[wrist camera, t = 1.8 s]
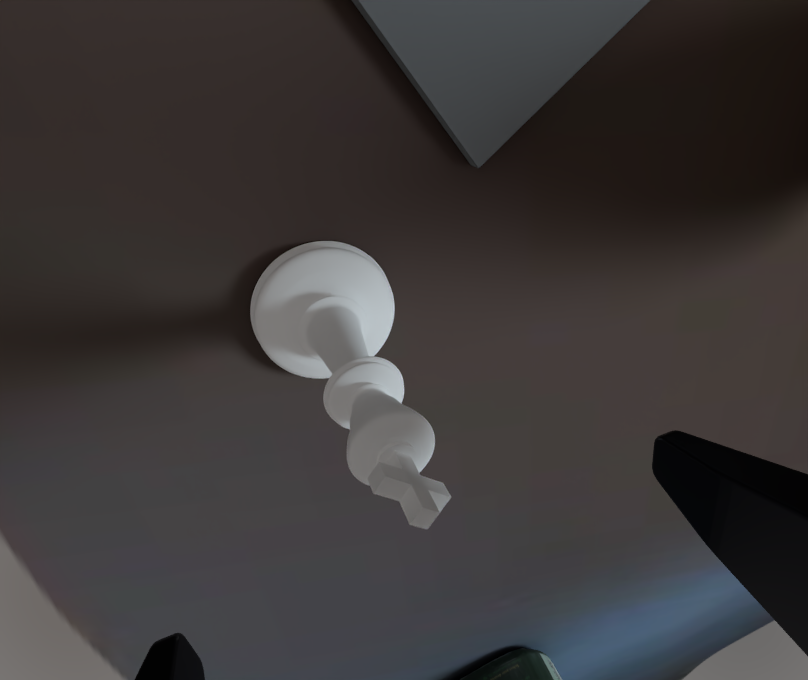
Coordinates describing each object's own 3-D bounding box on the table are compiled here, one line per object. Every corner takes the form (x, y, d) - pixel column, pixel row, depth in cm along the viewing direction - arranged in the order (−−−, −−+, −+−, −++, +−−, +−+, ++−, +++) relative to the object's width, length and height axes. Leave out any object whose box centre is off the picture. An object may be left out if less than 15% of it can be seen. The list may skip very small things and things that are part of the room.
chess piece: (296, 212, 16) (390, 365, 8) (416, 281, 19) (586, 453, 10) (223, 340, 17) (239, 593, 9) (346, 389, 20) (448, 624, 11)
